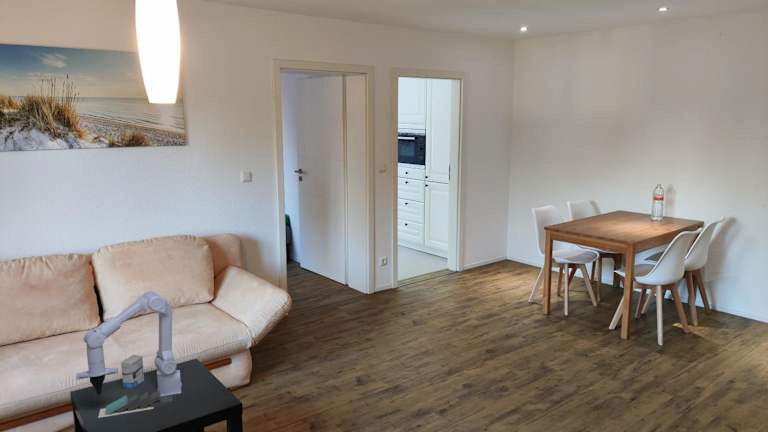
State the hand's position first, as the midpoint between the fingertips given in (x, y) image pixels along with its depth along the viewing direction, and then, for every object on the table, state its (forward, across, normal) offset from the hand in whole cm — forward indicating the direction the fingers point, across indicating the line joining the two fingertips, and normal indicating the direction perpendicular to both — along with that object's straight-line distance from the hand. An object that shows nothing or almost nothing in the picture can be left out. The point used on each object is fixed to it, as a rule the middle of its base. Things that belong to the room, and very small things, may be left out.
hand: (99, 393), depth 221 cm
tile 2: (+7, -6, +1) cm, 9 cm away
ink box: (+8, -10, -22) cm, 26 cm away
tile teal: (+7, -2, +1) cm, 8 cm away
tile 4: (+7, -14, +1) cm, 16 cm away
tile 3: (+7, -10, +1) cm, 12 cm away
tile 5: (+7, -18, +1) cm, 20 cm away
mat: (+8, -9, +1) cm, 12 cm away
